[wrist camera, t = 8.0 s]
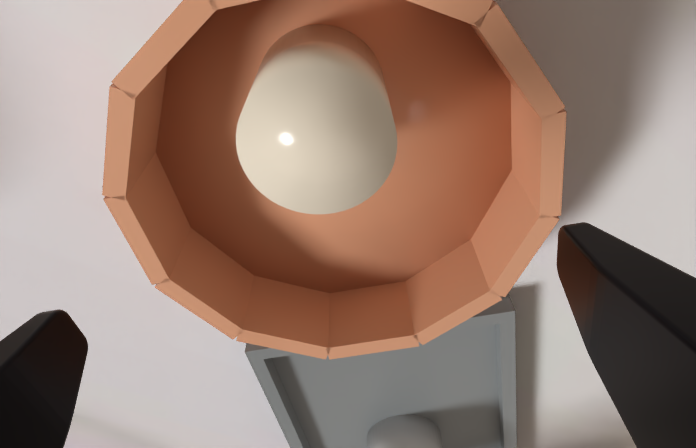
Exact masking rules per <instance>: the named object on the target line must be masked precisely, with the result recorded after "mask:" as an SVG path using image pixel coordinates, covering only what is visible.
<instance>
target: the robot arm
mask: <svg viewBox="0 0 696 448" xmlns="http://www.w3.org/2000/svg"><path fill="white" fill-rule="evenodd" d="M557 270H558V274H559V278H560V280H561V283H562V286H563V288H564V291H565V294H566V296H567V299H568V302H569V304H570V307H571V310H572V312H573V315H574V318H575V320H576V323H577V326H578V328H579V331H580V333H581V336H582V339H583V341H584V344H585V346H586V349H587V351H588V354H589V356H590V358H591V360H592V362H593V364H594V366H595V368H596V370H597V372H598V374H599V376H600V378H601V380H602V382H603V383H604V385H605V387H606V389H607V391H608V393H609V395H610V397H611V399H612V401H613V403H614V405H615V406H616V408H617V410H618V412H619V414H620V416H621V418H622V420H623V422H624V424H625V426H626V428H627V429H628V431H629V433H630V435H631V437H632V439H633V441H634V443H635V445H636V447H637V448H696V278H695V277H693V276H691V275H689V274H687V273H685V272H683V271H681V270H679V269H677V268H675V267H673V266H671V265H669V264H667V263H665V262H663V261H661V260H659V259H657V258H655V257H653V256H651V255H650V254H648V253H646V252H644V251H642V250H640V249H638V248H636V247H634V246H632V245H630V244H628V243H626V242H624V241H622V240H620V239H618V238H616V237H614V236H612V235H610V234H608V233H606V232H604V231H603V230H601V229H599V228H597V227H595V226H593V225H591V224H588V223H585V222H582V223H576V224H570V225H564V226H562V227H561V228H560V230H559V233H558V250H557ZM87 352H88V344H87V340H86V338H85V336H84V335H83V333H82V332H81V331H80V329H79V328H78V327H77V325H76V324H75V323H74V321H73V320H72V319H71V317H70V316H69V315H68V313H67V312H65V311H63V310H53V311H47V312H42V313H39V314H37V315H35V316H34V317H33V318H31V319H30V320H29V321H27V322H26V323H24V324H23V325H22V326H20V327H19V328H18V329H16V330H15V331H14V332H12V333H11V334H9V335H8V336H7V337H5V338H4V339H3V340H1V341H0V448H63V447H64V444H65V441H66V438H67V435H68V432H69V428H70V425H71V421H72V417H73V413H74V409H75V404H76V400H77V396H78V391H79V387H80V383H81V378H82V374H83V369H84V365H85V361H86V356H87Z"/></svg>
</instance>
